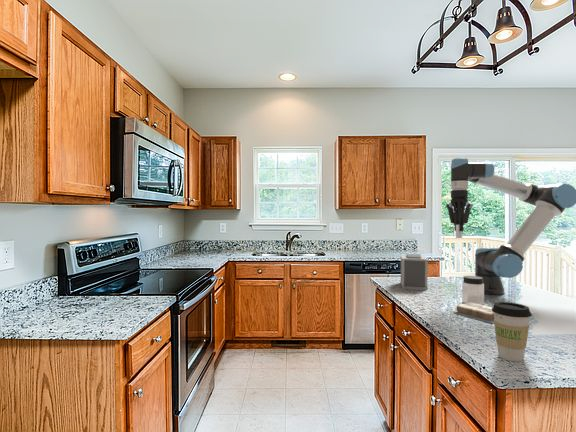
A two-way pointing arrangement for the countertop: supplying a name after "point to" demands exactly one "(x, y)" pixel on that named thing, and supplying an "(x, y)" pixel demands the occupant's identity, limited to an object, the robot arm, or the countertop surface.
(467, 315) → the mat
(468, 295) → the jar
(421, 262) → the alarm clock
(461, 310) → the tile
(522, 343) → the coffee cup
